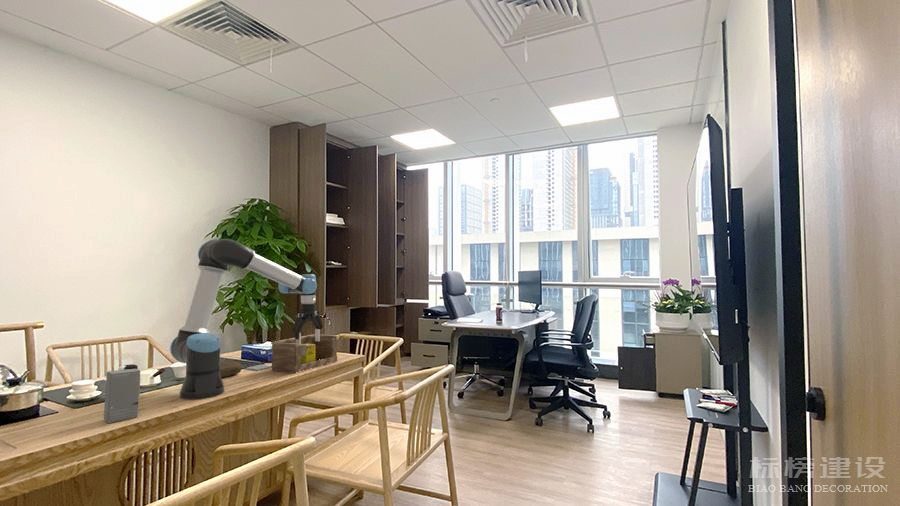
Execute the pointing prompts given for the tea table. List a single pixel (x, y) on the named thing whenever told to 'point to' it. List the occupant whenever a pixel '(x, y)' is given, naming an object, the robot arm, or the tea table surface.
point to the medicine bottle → (129, 368)
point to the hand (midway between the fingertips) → (308, 343)
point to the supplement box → (307, 353)
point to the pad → (259, 367)
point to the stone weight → (229, 369)
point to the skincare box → (121, 395)
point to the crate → (289, 353)
